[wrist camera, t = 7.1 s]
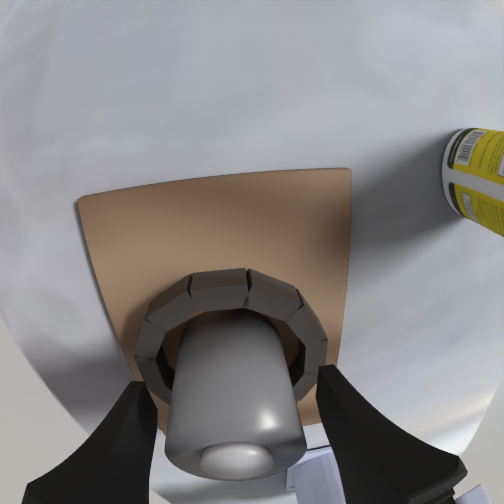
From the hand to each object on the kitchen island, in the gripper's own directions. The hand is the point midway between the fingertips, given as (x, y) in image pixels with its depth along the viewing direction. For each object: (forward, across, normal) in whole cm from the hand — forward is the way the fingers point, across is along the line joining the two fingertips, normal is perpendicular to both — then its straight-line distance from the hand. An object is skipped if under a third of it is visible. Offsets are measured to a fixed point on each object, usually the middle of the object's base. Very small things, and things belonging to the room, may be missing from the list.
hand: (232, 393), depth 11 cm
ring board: (+3, 0, 0) cm, 3 cm away
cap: (+3, 0, 0) cm, 3 cm away
